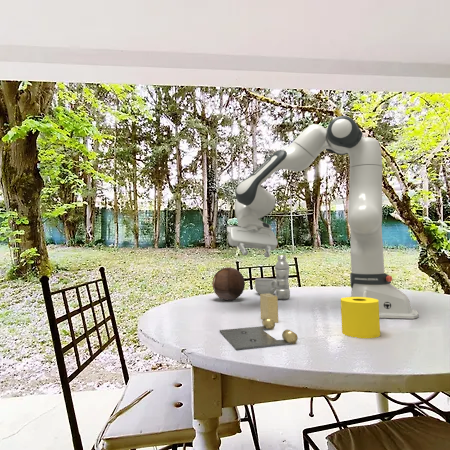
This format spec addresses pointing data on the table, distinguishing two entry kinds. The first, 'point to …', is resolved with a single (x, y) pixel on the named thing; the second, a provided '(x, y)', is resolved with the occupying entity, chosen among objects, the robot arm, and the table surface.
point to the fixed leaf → (257, 336)
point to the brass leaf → (269, 307)
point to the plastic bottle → (282, 278)
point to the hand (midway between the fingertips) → (256, 255)
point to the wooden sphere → (228, 283)
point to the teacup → (265, 285)
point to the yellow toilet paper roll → (360, 317)
